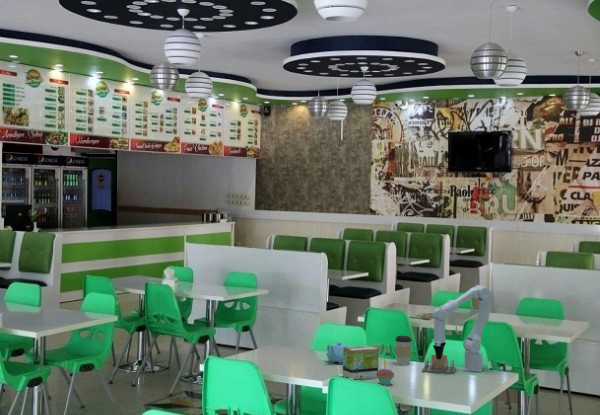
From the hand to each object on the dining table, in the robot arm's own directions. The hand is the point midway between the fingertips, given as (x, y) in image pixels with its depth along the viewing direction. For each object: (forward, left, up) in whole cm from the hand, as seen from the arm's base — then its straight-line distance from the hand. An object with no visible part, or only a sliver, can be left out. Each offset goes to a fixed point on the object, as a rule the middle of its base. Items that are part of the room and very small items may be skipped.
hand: (439, 357), depth 402 cm
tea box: (+36, +28, -7) cm, 46 cm away
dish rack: (0, 0, -7) cm, 7 cm away
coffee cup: (+20, -11, -7) cm, 24 cm away
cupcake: (+22, +39, -7) cm, 45 cm away
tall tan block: (0, 0, -6) cm, 6 cm away
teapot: (+54, -3, -7) cm, 55 cm away
